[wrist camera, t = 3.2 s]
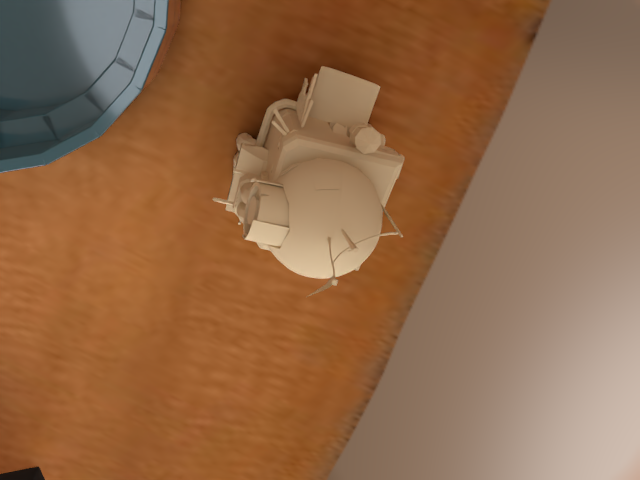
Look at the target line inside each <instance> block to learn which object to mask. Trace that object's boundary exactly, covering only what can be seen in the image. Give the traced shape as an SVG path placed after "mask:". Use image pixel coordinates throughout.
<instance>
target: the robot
mask: <svg viewBox="0 0 640 480" xmlns="http://www.w3.org/2000/svg"><path fill="white" fill-rule="evenodd" d="M317 75H318V76H317ZM307 86H308V79H307V78H305V79H304V83H303V87H302V90H301V93H300V94H299V97H298V100H297V102H296V101H293V100H290V99H282V100H279V101H276V102H274V103H273V104H272V105H270V106H269V107H268V108H267V110H266V113H265V116H264V119H263V122H262V125H261V128H260V131H259V134H258V138H257V140H255V139H253V138H252V136H251V135H249V134H247V133H242V134H239V135H238V137H237V139H236V143H237V148H238V150H239V152H237V153H236V154H235V156H234V166H233V179H232V183H231V187H230V191H229V195H228V199H227V200H223V199H219V198H213V201H216V202H220V203H224V204H227V205H226V210H227V211H231V212H235V214H236V215H237V217H239V220H240V221H239V223H238V224H239V225H240V224H241V222H242V223H243V230H244V235H242V237H243V238H244V239H245V240H249V241H254V242H256V243H257V244H258V246H259V248H262V249H266V250H270V251H271V252H272V253H273V254H274V256H275V257H276V258H277V259H278V260H279V261H280V262H281V263H282V264H283V265H285V266H286V267H287V268H288V269H290V270H292V271H294V272H295V273H297V274H300V275H303V276H306V277H311V278H320V279H322V278H331V279H330V280H329V281H328V282H327V284H326V285H324V286H322V287H321V288H319V289H318V290H316V291H315V292H313V293H312V294H310V295H313V294H315V293H318V292H320V291H323V290H325V289H327V288H329V287H330V286H331V285H336V286H337V283H338V279H336V278H335V277H337V276H341V275H344V274H346V273H348V272H350V271H352V270H357V271H358V270H359V268H360V266H361V263H363V262H364V261H365V260H366V259H367V258H368V257H369V255H370V254H371V253H372V251H373V250H374V248H375V246H376V244H377V242H378V240H379V236H383V235H390V234H399V236H400V237H403V235H402V234H401V232H400V231H399V229H398V228H397V226H396V225H395V223H394V222H393V220H392V219H391V217H390V216H389V214H388V212H387V211H386V209H385V205H386V203H387V200H388V198H389V196H390V193H391V191H392V188H393V186H394V183H395V181H396V179H397V178H398V177H399V174H400V171H401V168H402V165H403V162H404V159H405V158H404V156H403V155H400V154H399V153H397V152H396V151H395V150H394V149H392V148H389V147H386V146H384V145H385V140H386V139H385V136H384V135H382V134H380V133H379V132H378V131H376V130H375V129H374V128H373V127H372V126H371V124H368V121H369V118H370V115H371V112H372V109H373V106H374V103H375V101H376V98H377V95H378V92H379V90H380V86H378V85H376V84H374V83H372V82H369V81H366V80H363V79H361V78H358V77H355V76H353V75H350V74H347V73H344V72H341V71H338V70H335V69H332V68H329V67H324V66H322V67H321V69H320V71H319V74H316V73H315V74H314V76H313V78H312V80H311V83H310V87H309V90H308V93H307V94H306V88H307ZM305 94H306V95H307V96H306V95H305ZM383 211H384V212H385V214H386V216H387V217H388V219H389V220H390V222H391V223H392V225H393V226H394V228H395V229H396V231H397V232H388V233H382V234H380V232H381V228H382V215H383V214H382V212H383ZM310 295H309V296H310ZM307 297H308V296H307Z"/></svg>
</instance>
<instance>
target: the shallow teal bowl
mask: <svg viewBox="0 0 640 480" xmlns="http://www.w3.org/2000/svg"><path fill="white" fill-rule="evenodd" d="M180 7H181V0H0V173H3V172H9V171H15V170H21V169H27V168H33V167H39V166H45V165H47V164H50V163H52V162H54V161H56V160H58V159H60V158H61V157H63V156H65V155H67V154H69V153H71V152H73V151H75V150H76V149H78V148H80V147H82V146H84V145H86V144H88V143H90V142H92V141H93V140H95V139H97V138H99V137H100V136H102V135H103V134H104V133H105V132H106V131H107V130H108V128H109V127H110V126H111V125H112V124H113V123H114V122H115V121H116V120H117V119H118V118H119V117H120V115H121V114H122V113H123V112H124V111H125V110H126V109H127V108H128V107H129V106H130V104H131V103H132V102H133V101H134V100H135V99H136V98H137V97H138V96H139V95H140V93H141V92H142V91H143V90H144V89H145V88H146V87H147V86H148V85H149V83H150V82H151V81H152V80H153V79H154V78H155V77H156V76H157V74H158V73H159V71H160V68H161V66H162V63H163V61H164V58H165V56H166V54H167V51H168V49H169V46H170V44H171V41H172V39H173V37H174V34H175V32H176V29H177V27H178V25H179V21H180Z"/></svg>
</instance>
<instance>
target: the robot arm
mask: <svg viewBox="0 0 640 480" xmlns="http://www.w3.org/2000/svg"><path fill="white" fill-rule="evenodd" d="M0 480H45V479H44V477H43V475H42V472H41V470H40V468H39V467H34V468H29V469H24V470H19V471H14V472H9V473H3V474H0Z"/></svg>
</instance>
